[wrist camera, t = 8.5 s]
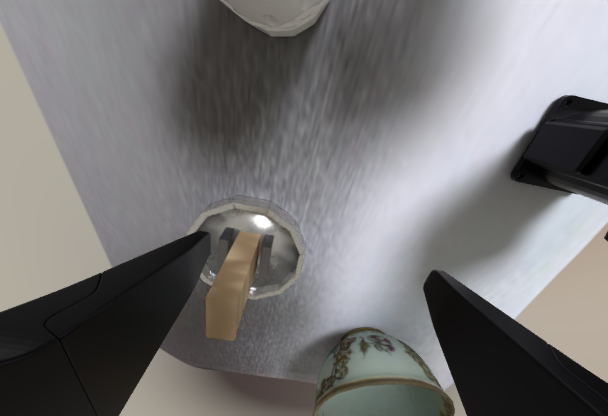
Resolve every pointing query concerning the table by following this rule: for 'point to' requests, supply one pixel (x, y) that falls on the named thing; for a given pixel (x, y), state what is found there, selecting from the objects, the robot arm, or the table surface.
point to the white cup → (278, 14)
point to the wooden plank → (232, 288)
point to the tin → (273, 243)
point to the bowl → (378, 380)
